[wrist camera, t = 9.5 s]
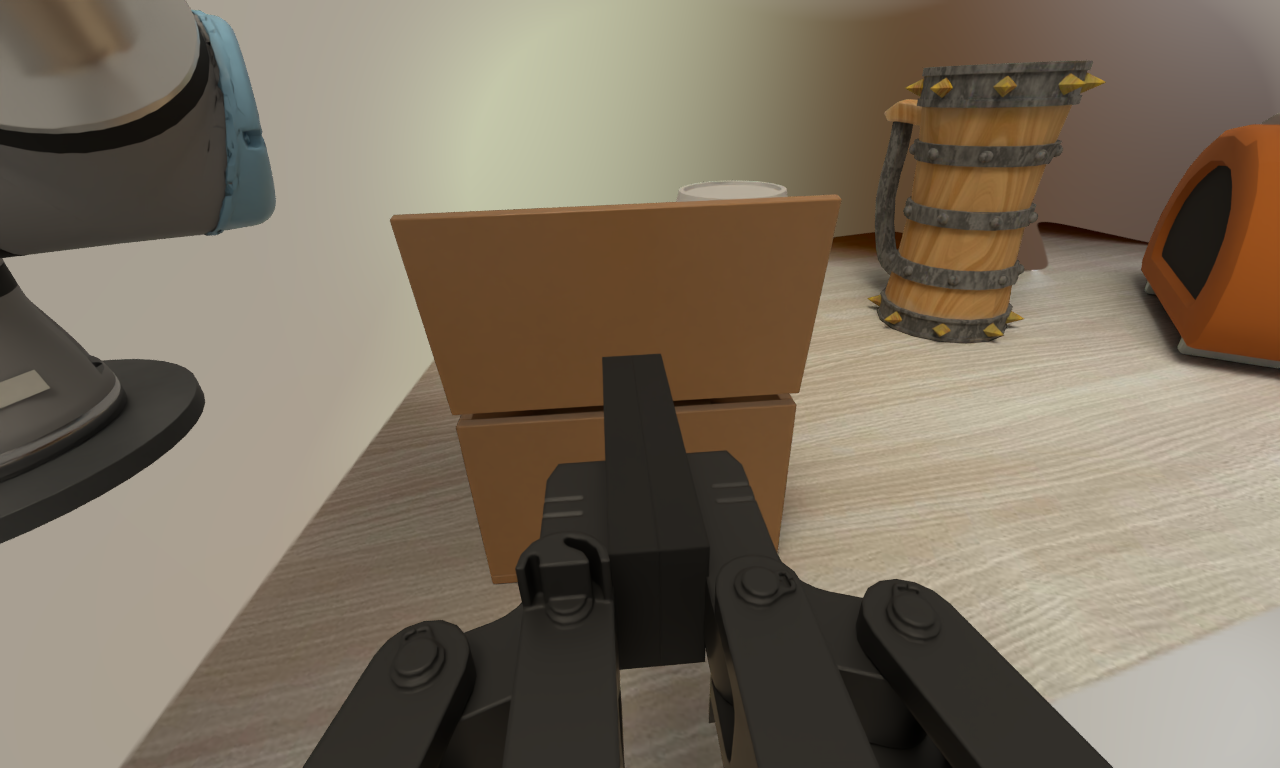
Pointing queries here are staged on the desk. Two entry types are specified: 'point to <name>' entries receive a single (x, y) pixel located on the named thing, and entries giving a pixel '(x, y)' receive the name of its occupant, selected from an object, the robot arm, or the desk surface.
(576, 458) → the carton
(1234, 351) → the alarm clock
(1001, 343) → the desk surface
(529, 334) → the flap
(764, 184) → the disposable coffee cup
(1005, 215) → the mug
